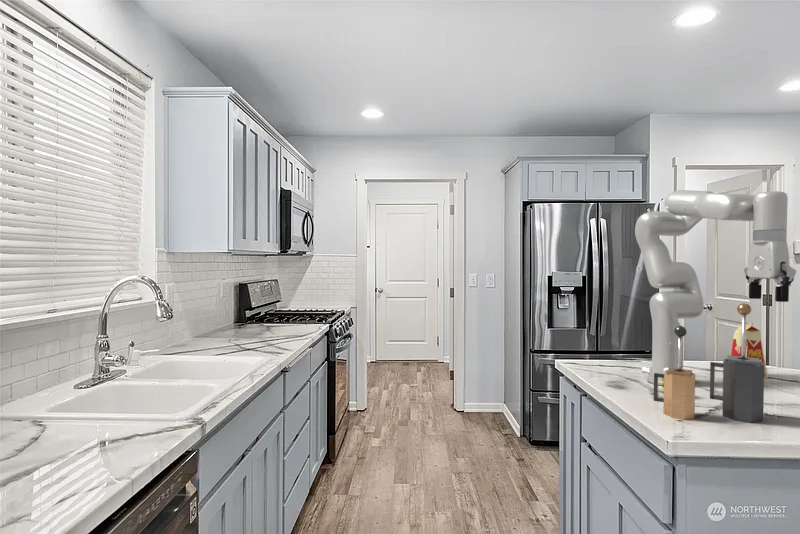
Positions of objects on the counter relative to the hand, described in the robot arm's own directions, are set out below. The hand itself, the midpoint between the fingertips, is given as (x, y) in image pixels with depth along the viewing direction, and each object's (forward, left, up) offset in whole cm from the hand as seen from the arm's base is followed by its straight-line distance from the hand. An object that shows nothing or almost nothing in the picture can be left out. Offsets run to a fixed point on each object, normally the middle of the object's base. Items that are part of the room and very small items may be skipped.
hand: (767, 300), depth 139 cm
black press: (-4, -9, -32) cm, 33 cm away
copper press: (-15, -21, -32) cm, 41 cm away
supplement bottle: (-25, -1, -32) cm, 40 cm away
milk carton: (-22, +52, -32) cm, 65 cm away
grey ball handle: (-14, -20, -25) cm, 35 cm away
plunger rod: (-3, -8, -23) cm, 24 cm away
